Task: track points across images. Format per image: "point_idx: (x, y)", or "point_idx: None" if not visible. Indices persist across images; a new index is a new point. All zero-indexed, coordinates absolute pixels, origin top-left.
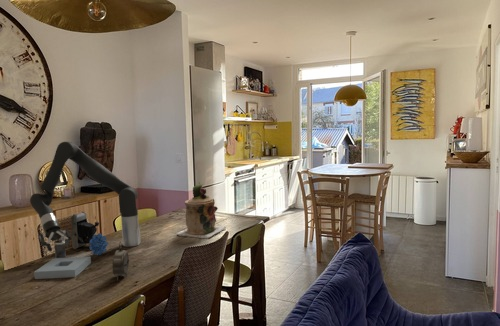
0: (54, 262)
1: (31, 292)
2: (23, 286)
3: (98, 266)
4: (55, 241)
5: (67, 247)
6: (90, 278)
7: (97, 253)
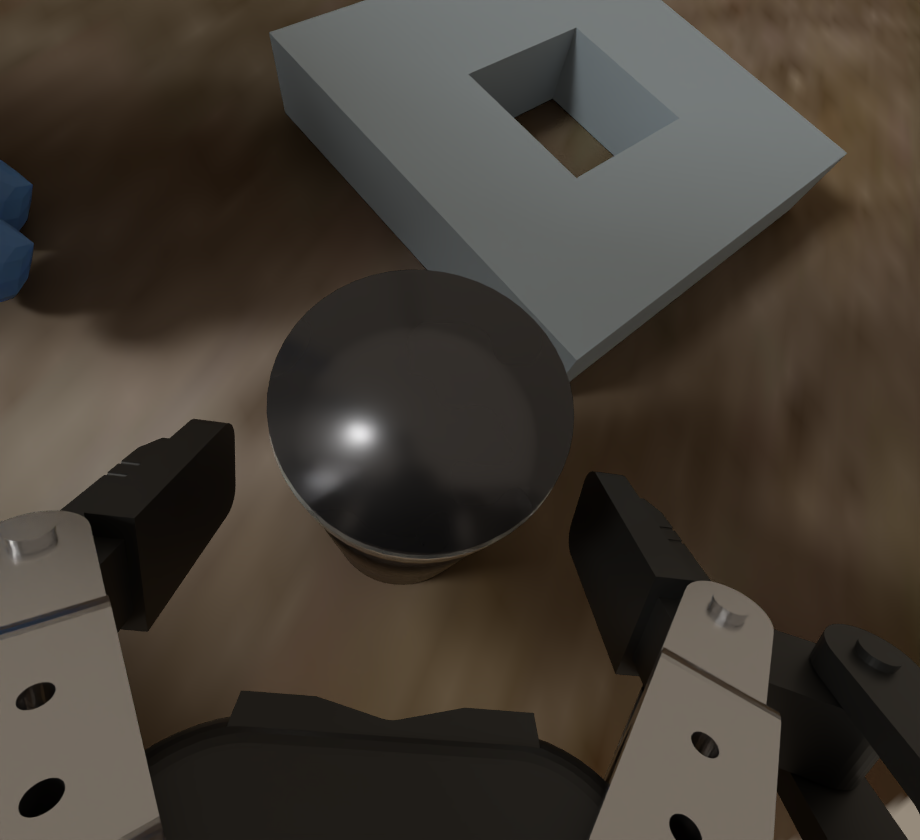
0: (630, 208)
1: (833, 46)
2: (869, 159)
3: (314, 7)
4: (509, 509)
5: (232, 488)
6: None
7: (31, 185)
